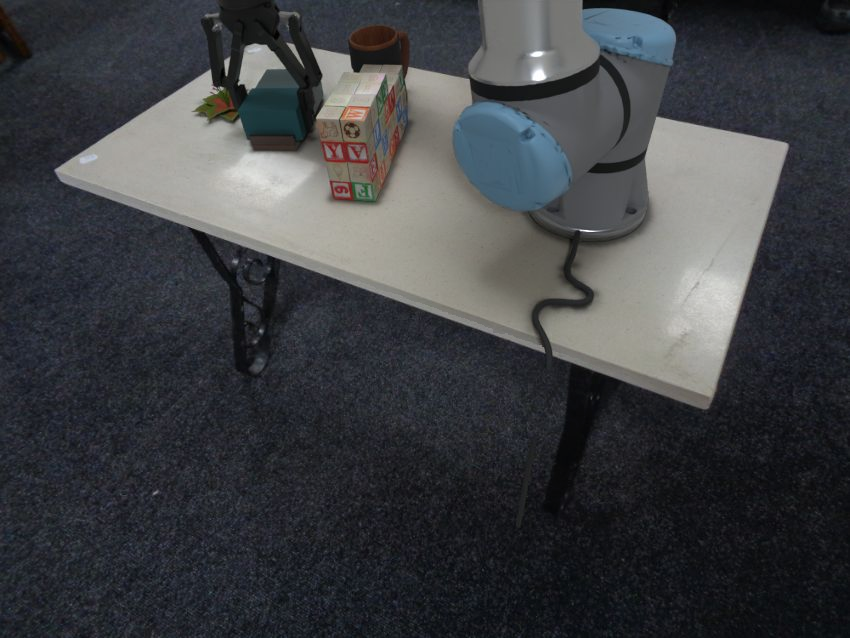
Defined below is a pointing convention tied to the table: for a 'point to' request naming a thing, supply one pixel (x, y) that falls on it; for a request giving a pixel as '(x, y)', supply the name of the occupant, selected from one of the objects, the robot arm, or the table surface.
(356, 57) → the mug
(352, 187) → the stack of blocks
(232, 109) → the lily flower
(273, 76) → the teal lidded box
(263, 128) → the block
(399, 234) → the table surface
